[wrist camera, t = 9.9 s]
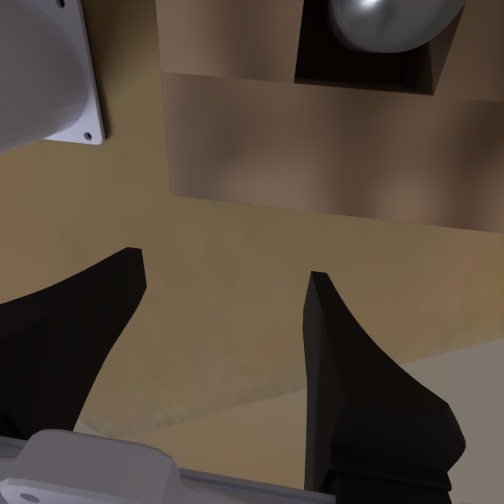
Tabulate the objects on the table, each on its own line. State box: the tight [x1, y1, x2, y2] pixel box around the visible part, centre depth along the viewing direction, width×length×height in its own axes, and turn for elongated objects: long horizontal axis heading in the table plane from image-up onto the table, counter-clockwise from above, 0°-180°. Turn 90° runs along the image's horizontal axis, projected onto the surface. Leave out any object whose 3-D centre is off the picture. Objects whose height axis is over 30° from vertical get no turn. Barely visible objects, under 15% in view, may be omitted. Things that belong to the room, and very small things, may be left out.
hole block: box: [155, 0, 504, 233], centre depth 14 cm, size 18×18×5 cm
